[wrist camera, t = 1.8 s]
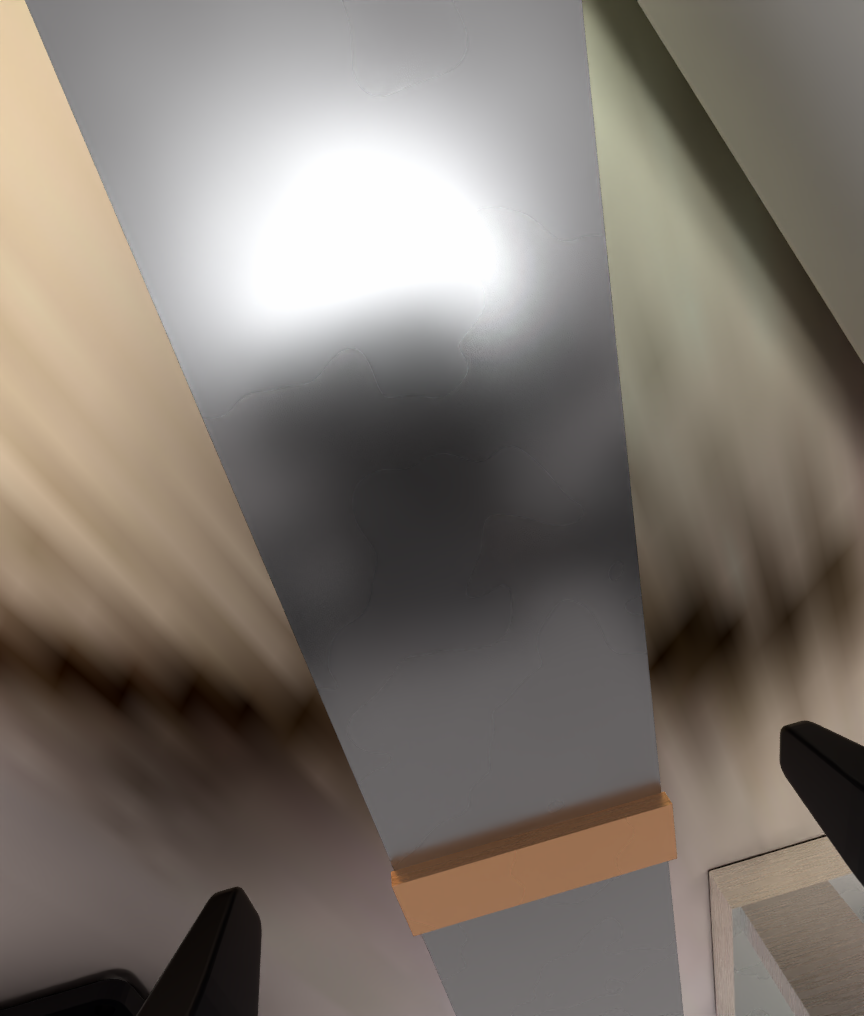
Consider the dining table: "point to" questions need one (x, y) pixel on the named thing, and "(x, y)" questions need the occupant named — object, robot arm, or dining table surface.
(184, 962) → the robot arm
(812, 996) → the collar rail
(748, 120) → the tube
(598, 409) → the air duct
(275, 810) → the dining table surface
